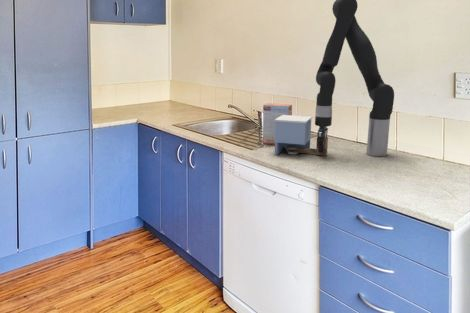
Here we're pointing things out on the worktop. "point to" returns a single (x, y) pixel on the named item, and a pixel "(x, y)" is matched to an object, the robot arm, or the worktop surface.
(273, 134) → the cracker box
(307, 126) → the cabinet
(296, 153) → the grey metal dome
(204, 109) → the worktop surface
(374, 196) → the worktop surface
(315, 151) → the wooden mallet
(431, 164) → the worktop surface
